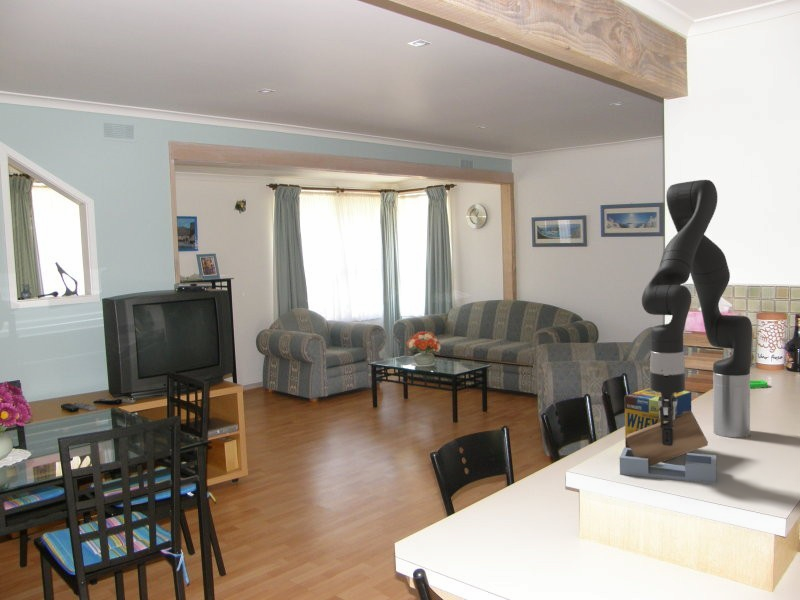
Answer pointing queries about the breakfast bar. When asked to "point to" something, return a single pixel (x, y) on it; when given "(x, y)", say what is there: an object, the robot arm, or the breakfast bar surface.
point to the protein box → (649, 409)
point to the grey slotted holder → (671, 467)
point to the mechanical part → (758, 383)
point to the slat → (684, 439)
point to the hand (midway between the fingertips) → (668, 442)
